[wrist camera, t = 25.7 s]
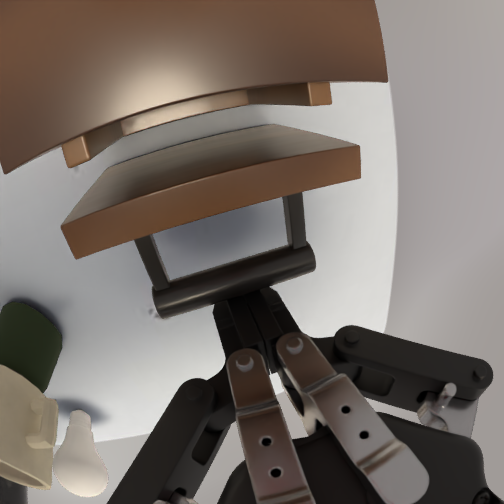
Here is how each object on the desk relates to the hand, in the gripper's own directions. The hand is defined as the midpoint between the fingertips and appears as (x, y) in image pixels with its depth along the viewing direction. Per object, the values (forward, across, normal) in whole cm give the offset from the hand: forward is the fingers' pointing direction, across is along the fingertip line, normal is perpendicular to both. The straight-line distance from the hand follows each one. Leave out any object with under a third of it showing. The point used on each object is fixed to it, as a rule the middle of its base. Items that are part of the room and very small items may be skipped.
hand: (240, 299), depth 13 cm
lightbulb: (+7, +21, +16) cm, 27 cm away
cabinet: (+7, 0, -14) cm, 16 cm away
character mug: (+7, +17, +3) cm, 19 cm away
